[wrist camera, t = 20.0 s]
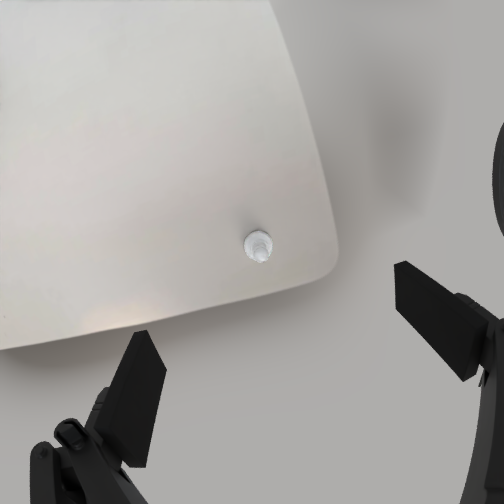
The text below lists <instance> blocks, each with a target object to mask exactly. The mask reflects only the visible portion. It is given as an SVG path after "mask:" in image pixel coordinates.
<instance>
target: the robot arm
mask: <svg viewBox="0 0 504 504" xmlns="http://www.w3.org/2000/svg"><path fill="white" fill-rule="evenodd" d="M394 273H395V302H396V310H397V311H398V312H399V313H400V314H401V315H402V316H403V317H404V318H405V319H406V320H407V321H408V322H409V323H410V324H411V325H412V326H413V328H415V330H416V331H417V332H418V333H419V334H420V335H421V336H422V337H423V338H424V339H425V340H426V341H427V342H428V343H429V345H430V346H431V347H432V348H433V349H434V350H435V351H436V352H437V353H438V354H439V355H440V357H441V358H442V359H443V360H444V361H445V362H446V363H447V364H448V366H449V367H450V368H451V369H452V370H453V371H454V372H455V373H456V374H457V376H458V377H459V378H460V379H461V380H462V381H463V382H464V381H466V380H467V379H469V378H471V377H472V376H474V375H476V373H477V370H478V366H479V364H480V365H481V366H482V367H483V368H484V370H483V374H482V377H481V380H480V383H479V387H480V386H481V384H482V387H481V399H480V409H479V418H478V425H477V432H476V438H475V444H474V449H473V454H472V458H471V463H470V467H469V472H468V476H467V480H466V483H465V487H464V491H463V494H462V497H461V501H460V504H504V318H502V319H500V320H499V319H498V318H497V317H496V316H494V315H493V314H492V313H490V312H489V311H488V310H486V309H485V308H484V307H482V306H480V304H478V303H477V302H475V301H474V300H473V299H471V298H470V297H469V296H467V295H464V294H461V293H456V294H453V293H451V292H450V291H449V290H447V289H446V288H444V287H443V286H442V285H440V284H439V283H437V282H436V281H435V280H433V279H432V278H430V277H429V276H428V275H426V274H425V273H423V272H422V271H420V270H419V269H418V268H416V267H415V266H413V265H412V264H410V263H409V262H407V261H403V262H400V263H397V264H394ZM166 371H167V369H166V367H165V365H164V363H163V361H162V360H161V358H160V356H159V354H158V352H157V350H156V348H155V346H154V344H153V342H152V340H151V338H150V335H149V333H148V331H147V330H144V331H139V332H134V334H133V336H132V338H131V340H130V343H129V345H128V347H127V349H126V351H125V353H124V355H123V358H122V360H121V362H120V364H119V366H118V369H117V371H116V373H115V376H114V378H113V380H112V382H111V385H110V387H105V388H104V389H103V390H102V391H101V392H100V394H99V395H98V397H97V399H96V401H95V404H94V406H93V408H92V411H91V413H90V415H89V417H88V420H87V422H86V425H85V427H83V426H82V425H81V424H80V423H79V422H78V420H77V419H74V418H69V419H66V420H63V421H62V422H61V423H59V424H58V426H57V427H56V428H55V431H54V438H55V439H56V440H57V441H58V442H59V443H60V444H61V445H62V446H63V447H59V448H54V447H53V446H52V445H51V444H50V443H49V442H46V441H44V442H40V443H38V444H37V445H36V446H34V448H33V449H32V451H31V455H30V504H148V503H147V501H145V499H144V498H143V496H142V495H141V494H140V492H139V491H138V490H137V488H136V487H135V485H134V484H133V483H132V481H131V480H130V478H129V477H128V475H127V474H126V472H125V471H124V470H123V469H122V468H121V464H122V460H123V461H124V462H125V463H126V464H127V465H128V466H129V467H132V468H133V467H134V468H145V467H146V463H147V457H148V452H149V447H150V442H151V438H152V433H153V428H154V423H155V419H156V414H157V409H158V405H159V401H160V396H161V392H162V388H163V384H164V379H165V375H166Z"/></svg>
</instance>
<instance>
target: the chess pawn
mask: <svg viewBox="0 0 504 504" xmlns="http://www.w3.org/2000/svg"><path fill="white" fill-rule="evenodd" d="M244 249H245V252H246V254H247V255H248V256H249V257H250V258H251V259H253V260H256V261H257V262H260V263H262V262H265V261H266V260H267V259H268V258H269V256H270V254H271V253H272V250H273V242H272V240H271V238H270V236H269V235H268V234H267V233H265V232H263V231H255V232H252V233H250V234H249V235H248V236H247V237H246V239H245V241H244Z"/></svg>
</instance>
